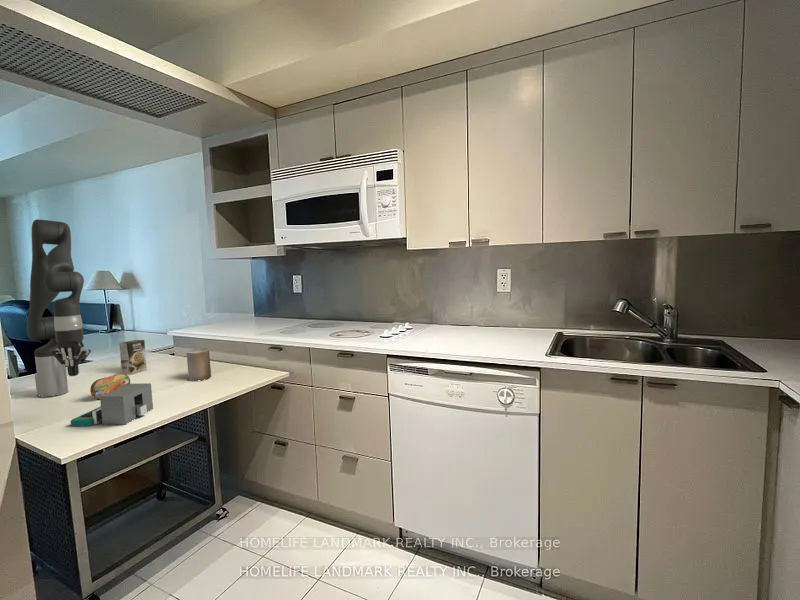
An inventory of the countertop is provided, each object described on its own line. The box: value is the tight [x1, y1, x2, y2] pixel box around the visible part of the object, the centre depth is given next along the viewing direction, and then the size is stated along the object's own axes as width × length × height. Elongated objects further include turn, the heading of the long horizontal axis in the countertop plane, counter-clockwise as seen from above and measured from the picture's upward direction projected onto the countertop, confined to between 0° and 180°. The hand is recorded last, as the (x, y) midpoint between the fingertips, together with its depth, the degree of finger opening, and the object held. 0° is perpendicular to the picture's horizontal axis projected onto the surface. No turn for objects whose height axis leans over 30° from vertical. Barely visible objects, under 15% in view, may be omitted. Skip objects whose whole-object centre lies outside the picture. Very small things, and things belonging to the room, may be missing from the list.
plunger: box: [92, 404, 148, 425], centre depth 141 cm, size 13×21×4 cm, turn 178°
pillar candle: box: [185, 347, 212, 382], centre depth 183 cm, size 10×10×15 cm
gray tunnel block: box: [99, 382, 154, 426], centre depth 137 cm, size 8×14×10 cm, turn 178°
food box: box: [119, 339, 148, 375], centre depth 196 cm, size 9×6×16 cm
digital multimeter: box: [70, 405, 101, 427], centre depth 137 cm, size 7×15×3 cm, turn 179°
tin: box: [89, 373, 131, 400], centre depth 161 cm, size 15×3×8 cm, turn 162°
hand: (73, 375), depth 138 cm, fingers closed
